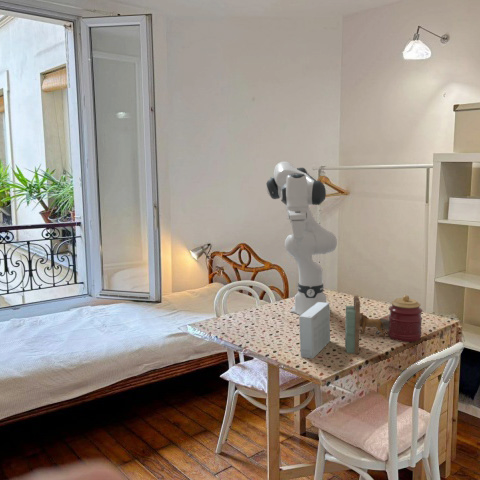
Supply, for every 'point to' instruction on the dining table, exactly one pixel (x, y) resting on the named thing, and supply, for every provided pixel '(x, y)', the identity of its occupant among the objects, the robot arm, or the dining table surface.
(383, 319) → the packaged product
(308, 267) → the robot arm
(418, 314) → the canister
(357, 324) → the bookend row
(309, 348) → the skincare box
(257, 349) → the dining table surface
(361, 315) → the lion figurine
